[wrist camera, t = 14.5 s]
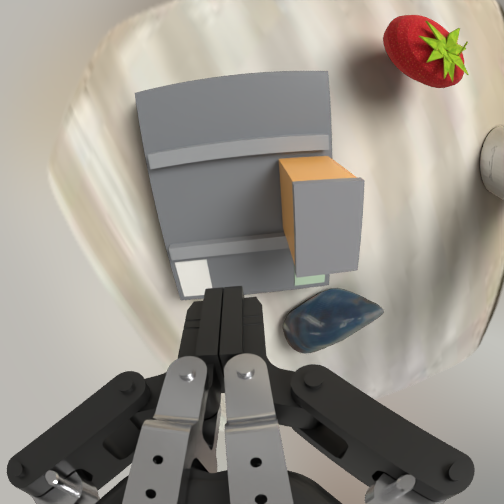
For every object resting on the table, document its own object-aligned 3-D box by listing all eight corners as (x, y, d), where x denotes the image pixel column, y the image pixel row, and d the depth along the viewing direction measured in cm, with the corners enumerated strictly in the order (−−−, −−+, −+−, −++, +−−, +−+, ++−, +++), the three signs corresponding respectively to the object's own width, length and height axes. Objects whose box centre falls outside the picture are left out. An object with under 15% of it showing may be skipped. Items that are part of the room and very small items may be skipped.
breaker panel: (318, 73, 21) (331, 70, 18) (321, 268, 31) (330, 289, 28) (145, 93, 22) (131, 93, 18) (184, 282, 32) (179, 305, 28)
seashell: (270, 346, 33) (345, 384, 30) (298, 281, 30) (384, 322, 27) (289, 324, 39) (354, 356, 35) (314, 265, 36) (387, 300, 32)
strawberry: (369, 13, 18) (428, -13, 9) (431, 51, 19) (500, 48, 11) (353, 63, 21) (411, 52, 12) (417, 97, 22) (486, 109, 13)
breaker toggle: (328, 154, 22) (364, 180, 16) (328, 224, 25) (357, 270, 19) (277, 157, 22) (293, 184, 16) (281, 228, 25) (296, 277, 19)
